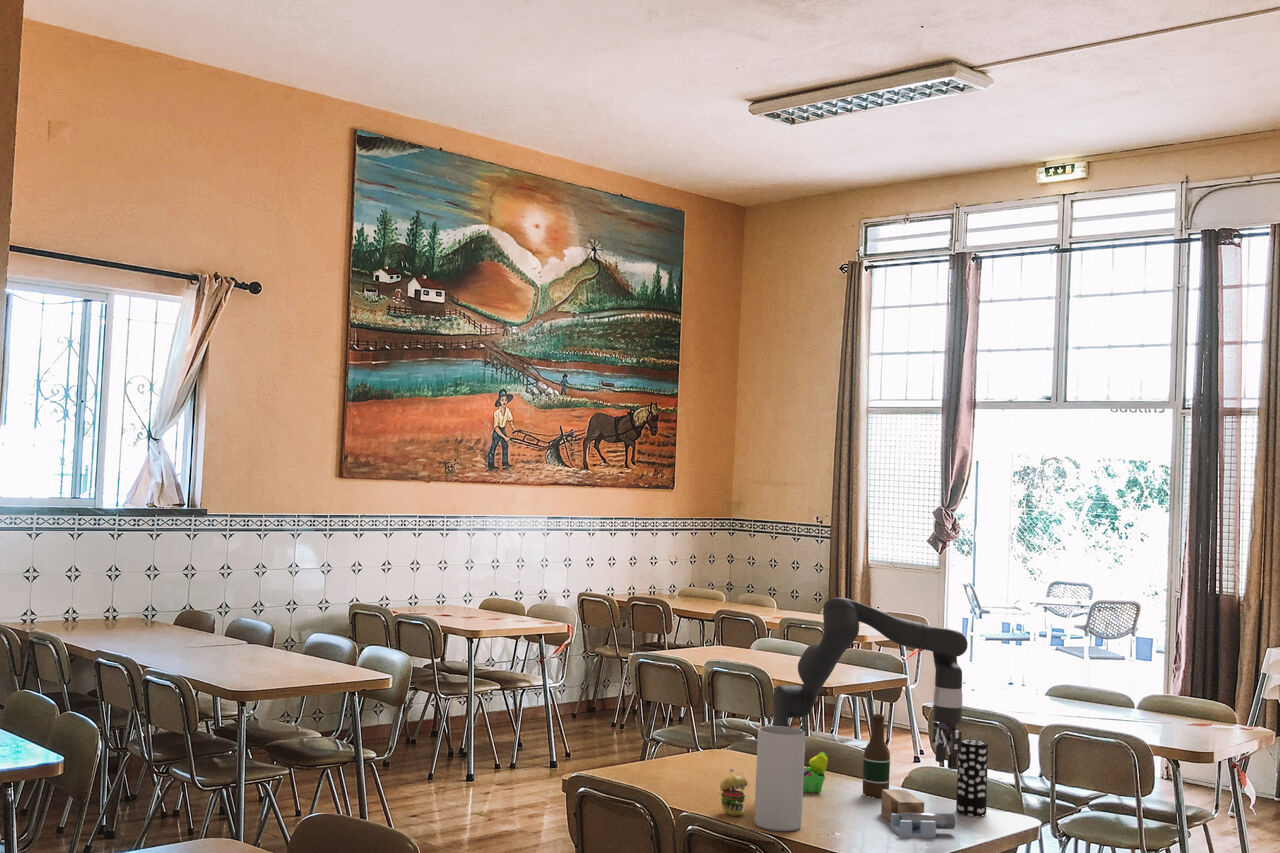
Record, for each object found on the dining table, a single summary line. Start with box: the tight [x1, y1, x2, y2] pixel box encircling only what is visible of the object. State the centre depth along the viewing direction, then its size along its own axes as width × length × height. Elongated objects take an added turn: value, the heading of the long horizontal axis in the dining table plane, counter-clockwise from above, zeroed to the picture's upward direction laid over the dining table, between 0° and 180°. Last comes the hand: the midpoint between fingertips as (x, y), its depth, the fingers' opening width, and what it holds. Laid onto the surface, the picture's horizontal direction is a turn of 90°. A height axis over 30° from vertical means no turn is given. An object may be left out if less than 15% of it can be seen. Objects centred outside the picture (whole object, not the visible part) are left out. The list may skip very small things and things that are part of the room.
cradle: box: [890, 813, 937, 838], centre depth 307 cm, size 10×8×4 cm
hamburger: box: [719, 768, 748, 817], centre depth 318 cm, size 8×7×12 cm
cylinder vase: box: [753, 725, 806, 832], centre depth 308 cm, size 12×12×25 cm
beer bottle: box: [862, 713, 891, 799], centre depth 349 cm, size 8×8×24 cm
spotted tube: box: [955, 738, 989, 817], centre depth 333 cm, size 8×8×20 cm
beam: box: [880, 788, 925, 822], centre depth 319 cm, size 7×14×7 cm, turn 7°
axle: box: [899, 812, 956, 830], centre depth 308 cm, size 14×4×4 cm, turn 97°
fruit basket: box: [803, 751, 829, 794], centre depth 352 cm, size 11×9×11 cm
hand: (945, 765), depth 310 cm, fingers open, 8 cm apart
